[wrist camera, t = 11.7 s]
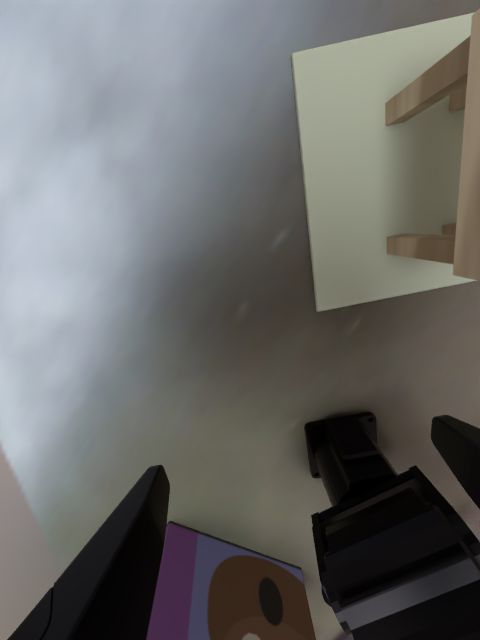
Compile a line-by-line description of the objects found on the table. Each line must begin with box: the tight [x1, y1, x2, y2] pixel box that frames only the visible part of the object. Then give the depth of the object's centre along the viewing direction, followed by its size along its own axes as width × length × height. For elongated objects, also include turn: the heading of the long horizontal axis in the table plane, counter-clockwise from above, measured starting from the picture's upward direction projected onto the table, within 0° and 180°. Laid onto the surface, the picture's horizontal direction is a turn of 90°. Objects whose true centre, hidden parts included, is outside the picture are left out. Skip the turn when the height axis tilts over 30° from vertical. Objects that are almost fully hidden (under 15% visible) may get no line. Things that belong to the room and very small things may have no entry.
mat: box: [291, 13, 477, 312], centre depth 18 cm, size 16×16×1 cm
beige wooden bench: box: [385, 9, 480, 281], centre depth 14 cm, size 6×10×8 cm, turn 11°
